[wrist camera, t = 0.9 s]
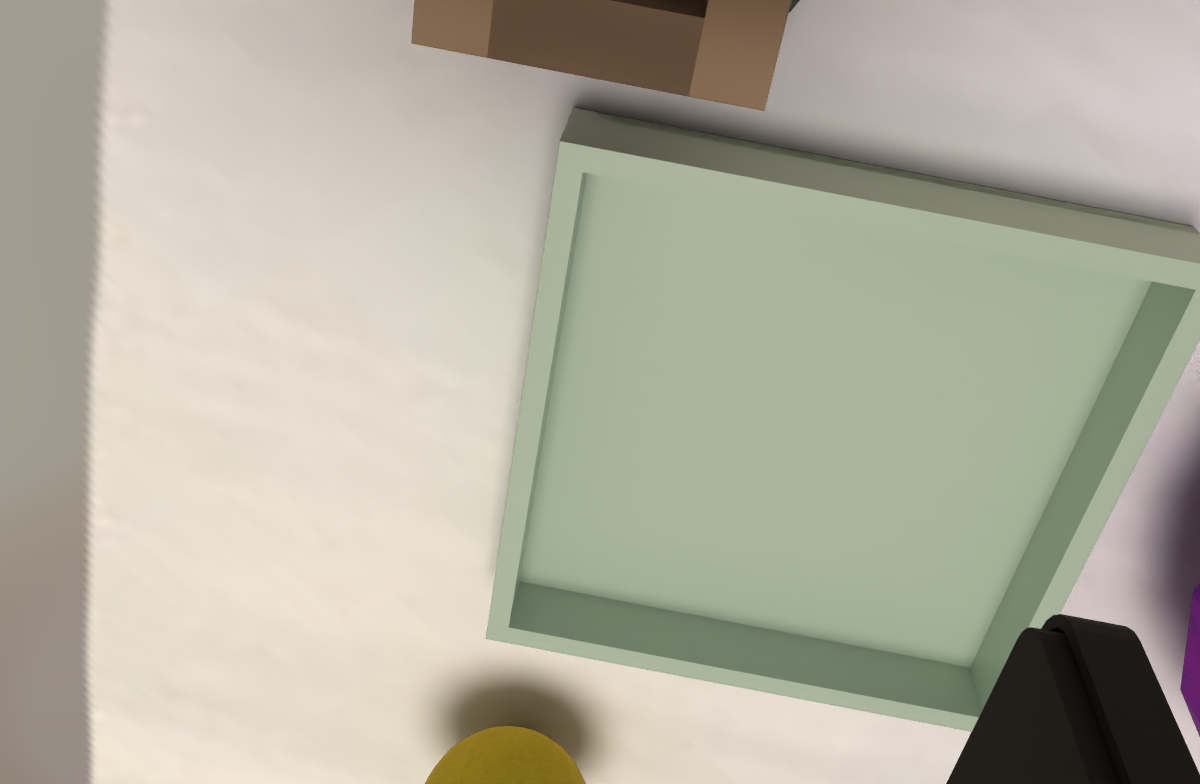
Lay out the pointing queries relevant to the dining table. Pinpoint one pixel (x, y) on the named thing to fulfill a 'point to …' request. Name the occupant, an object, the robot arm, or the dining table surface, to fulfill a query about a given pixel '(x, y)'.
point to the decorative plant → (1193, 662)
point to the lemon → (506, 760)
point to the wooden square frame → (622, 40)
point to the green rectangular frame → (823, 416)
